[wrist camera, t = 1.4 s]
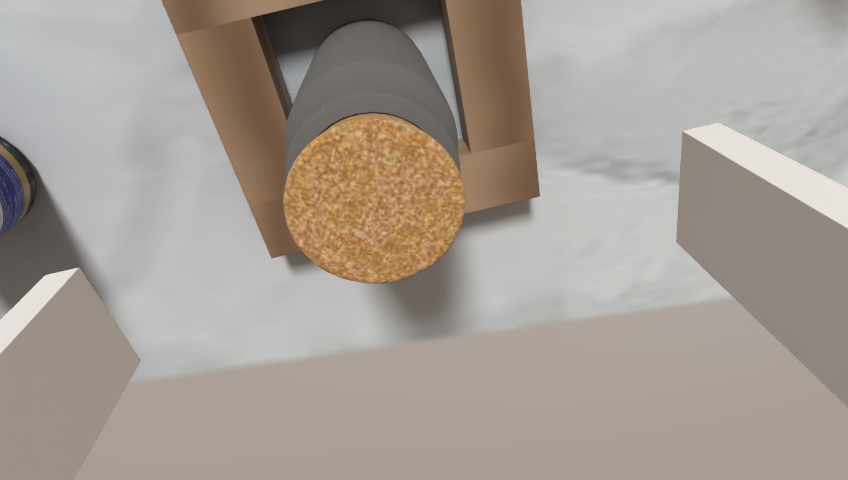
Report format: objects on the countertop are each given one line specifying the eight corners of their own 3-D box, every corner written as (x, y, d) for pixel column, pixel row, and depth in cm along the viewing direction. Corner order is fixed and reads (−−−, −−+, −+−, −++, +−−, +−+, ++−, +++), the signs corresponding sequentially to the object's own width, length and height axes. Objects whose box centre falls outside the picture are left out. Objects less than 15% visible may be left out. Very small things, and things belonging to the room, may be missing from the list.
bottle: (449, 72, 26) (533, 191, 13) (379, 156, 28) (392, 333, 15) (358, -10, 24) (352, 39, 11) (288, 88, 26) (213, 228, 13)
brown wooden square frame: (277, 236, 30) (271, 258, 28) (160, -52, 22) (139, -51, 20) (527, 178, 30) (539, 196, 28) (493, -132, 22) (507, -140, 20)
